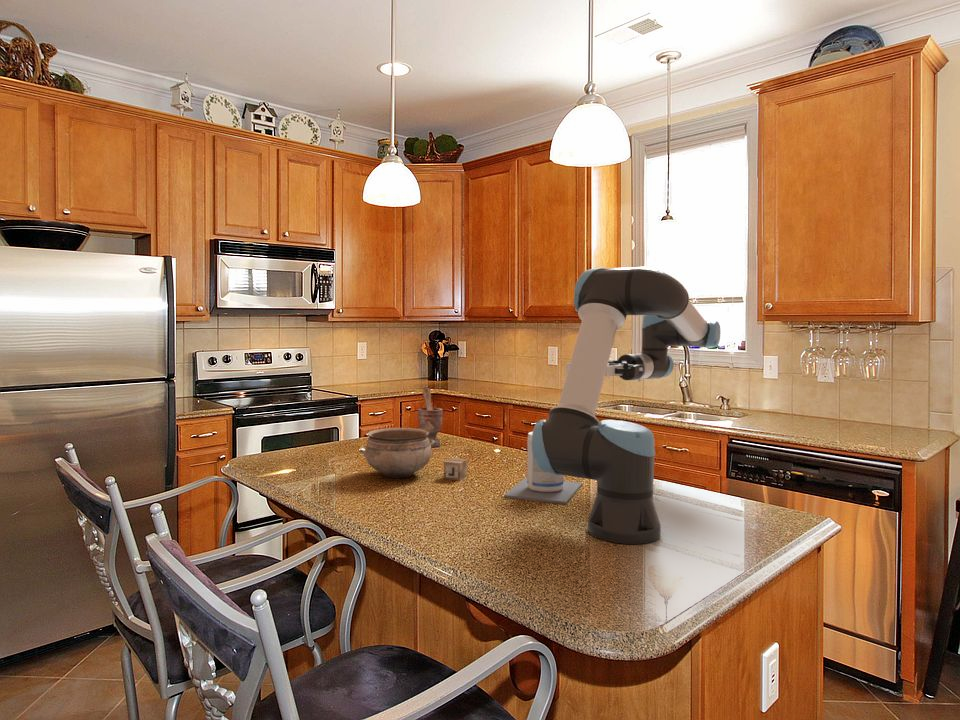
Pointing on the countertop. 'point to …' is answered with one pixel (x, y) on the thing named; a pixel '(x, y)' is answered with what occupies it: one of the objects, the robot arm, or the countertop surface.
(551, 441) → the robot arm
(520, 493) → the grey mat
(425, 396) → the mortar and pestle
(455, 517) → the countertop surface
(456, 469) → the lettered block
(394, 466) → the cooking pot
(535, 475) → the supplement tub
